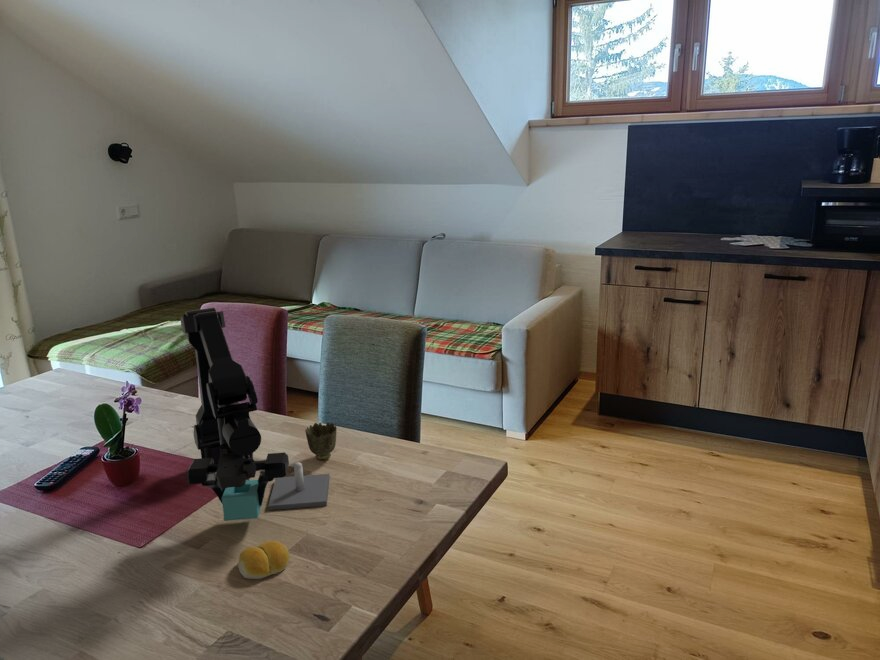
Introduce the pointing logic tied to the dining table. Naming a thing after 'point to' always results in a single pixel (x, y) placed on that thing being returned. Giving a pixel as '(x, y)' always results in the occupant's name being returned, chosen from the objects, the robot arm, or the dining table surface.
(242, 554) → the bread roll
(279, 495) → the post stand
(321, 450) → the cup
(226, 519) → the teal block with hole
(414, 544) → the dining table surface
